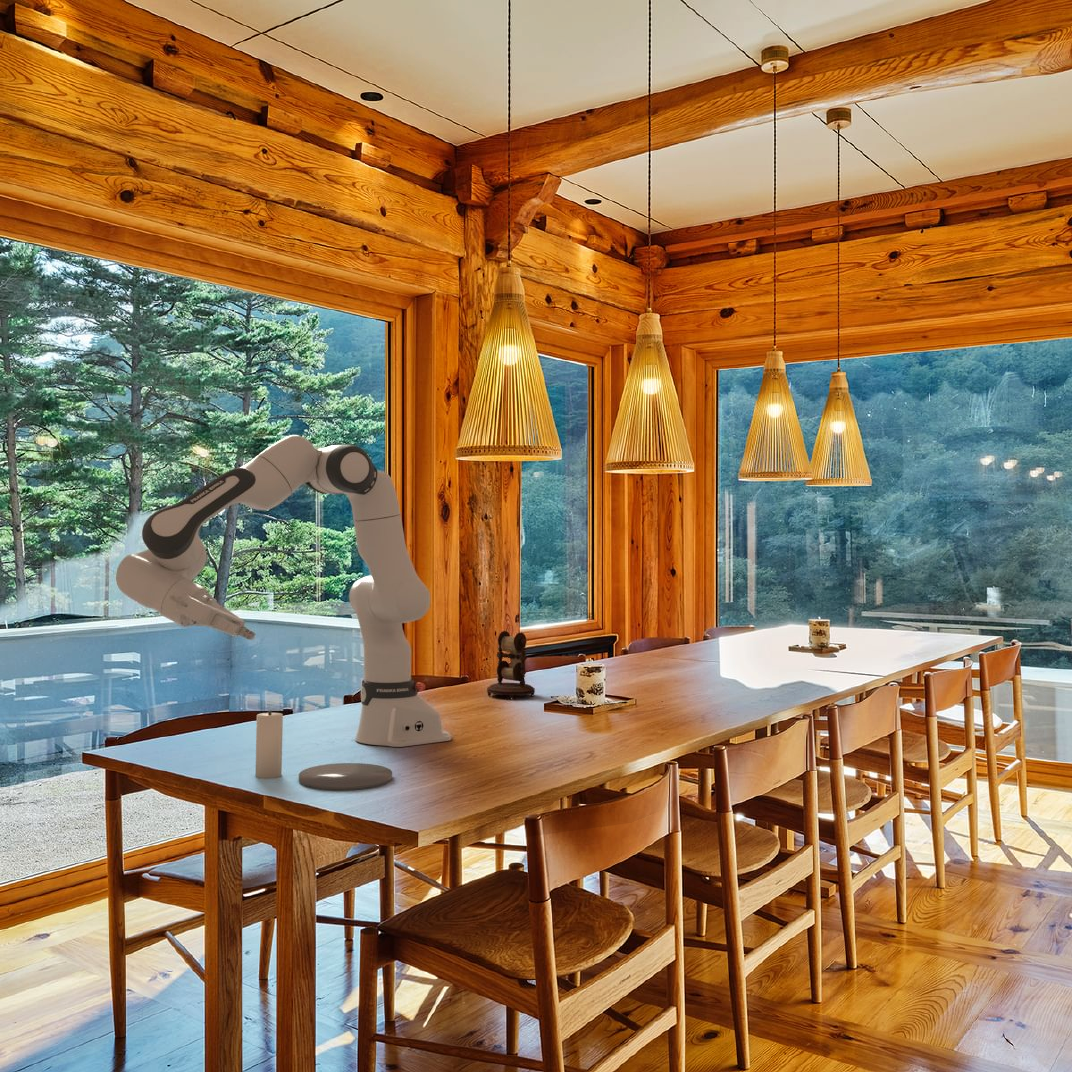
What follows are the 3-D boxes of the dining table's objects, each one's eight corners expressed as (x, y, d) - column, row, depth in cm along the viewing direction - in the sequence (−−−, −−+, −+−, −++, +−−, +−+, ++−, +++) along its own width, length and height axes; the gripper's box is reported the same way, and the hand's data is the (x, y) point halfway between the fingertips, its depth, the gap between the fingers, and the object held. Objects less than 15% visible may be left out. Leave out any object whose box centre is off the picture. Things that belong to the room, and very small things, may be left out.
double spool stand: (544, 696, 307) (545, 632, 307) (512, 701, 295) (513, 634, 296) (509, 691, 316) (510, 628, 317) (477, 696, 305) (478, 631, 305)
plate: (375, 765, 207) (375, 760, 207) (405, 785, 191) (405, 778, 191) (288, 773, 198) (288, 767, 198) (312, 794, 182) (312, 787, 182)
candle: (278, 771, 200) (279, 708, 200) (284, 777, 195) (285, 712, 195) (252, 773, 197) (254, 709, 198) (258, 779, 193) (259, 713, 193)
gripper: (174, 580, 192) (234, 611, 190) (214, 598, 212) (269, 626, 210) (157, 609, 191) (217, 641, 189) (199, 624, 211) (254, 653, 209)
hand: (245, 633), depth 199 cm, fingers open, 8 cm apart
